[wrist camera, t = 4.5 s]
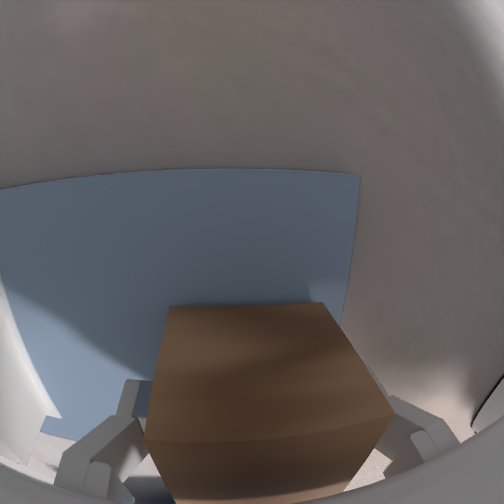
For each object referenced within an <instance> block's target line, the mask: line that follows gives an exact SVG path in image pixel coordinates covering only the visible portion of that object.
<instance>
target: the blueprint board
mask: <svg viewBox="0 0 504 504" xmlns="http://www.w3.org/2000/svg"><path fill="white" fill-rule="evenodd" d="M360 178H361V176H359V175H355V174H350V173H338V172H325V171H309V170H290V169H259V168H201V169H170V170H151V171H136V172H122V173H111V174H101V175H91V176H82V177H74V178H66V179H59V180H52V181H45V182H39V183H32V184H27V185H21V186H15V187H10V188H5V189H0V308H1V311H2V314H3V316H4V319H5V322H6V325H7V327H8V330H9V332H10V335H11V337H12V340H13V342H14V344H15V347H16V349H17V351H18V353H19V355H20V358H21V360H22V362H23V364H24V366H25V368H26V370H27V372H28V374H29V376H30V378H31V380H32V382H33V384H34V385H35V387H36V389H37V391H38V393H39V394H40V396H41V398H42V400H43V401H44V403H45V405H46V406H47V408H48V412H47V415H46V417H45V419H44V422H43V424H42V426H41V429H40V431H39V432H42V433H45V434H49V435H53V436H57V437H60V438H65V439H69V440H73V441H79V440H80V439H81V438H82V437H84V436H85V435H86V434H88V433H89V432H90V431H91V430H93V429H94V428H95V427H97V426H98V425H99V424H100V423H102V422H103V421H104V420H105V419H107V418H108V417H109V416H110V415H115V414H116V411H117V407H118V404H119V400H120V397H121V393H122V390H123V386H124V383H125V381H126V380H127V379H134V380H148V381H153V380H154V375H155V370H156V365H157V360H158V356H159V351H160V346H161V342H162V337H163V333H164V329H165V324H166V320H167V316H168V312H169V308H170V306H249V305H277V304H299V303H316V302H323V303H324V305H325V306H326V308H327V309H328V311H329V312H330V313H331V315H332V316H333V318H334V319H335V321H336V322H337V324H338V325H339V327H340V322H341V317H342V312H343V307H344V301H345V296H346V290H347V285H348V279H349V272H350V266H351V259H352V252H353V245H354V237H355V229H356V221H357V211H358V201H359V190H360Z"/></svg>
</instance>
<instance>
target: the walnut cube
mask: <svg viewBox="0 0 504 504" xmlns="http://www.w3.org/2000/svg"><path fill="white" fill-rule="evenodd" d="M394 414H395V412H394V410H393V409H392V407H391V405H390V404H389V402H388V401H387V399H386V397H385V396H384V394H383V393H382V391H381V390H380V388H379V386H378V385H377V383H376V382H375V380H374V379H373V377H372V376H371V374H370V372H369V371H368V369H367V368H366V366H365V365H364V363H363V362H362V360H361V359H360V357H359V356H358V354H357V352H356V351H355V349H354V348H353V346H352V345H351V343H350V342H349V340H348V339H347V337H346V336H345V334H344V333H343V331H342V330H341V328H340V327H339V325H338V324H337V322H336V321H335V319H334V318H333V316H332V315H331V313H330V312H329V311H328V309H327V308H326V306H325V305H324V303H323V302H316V303H299V304H277V305H249V306H170V308H169V312H168V316H167V320H166V324H165V329H164V333H163V337H162V342H161V346H160V351H159V356H158V360H157V365H156V370H155V375H154V380H153V385H152V391H151V396H150V402H149V407H148V413H147V419H146V425H145V431H144V438H143V440H144V442H145V444H146V447H147V449H148V451H149V453H150V455H151V457H152V459H153V461H154V463H155V465H156V467H157V469H158V471H159V473H160V475H161V477H162V479H163V481H164V483H165V485H166V487H167V488H168V490H169V492H170V494H171V496H172V497H173V499H174V501H175V502H176V504H292V503H298V502H303V501H309V500H313V499H318V498H322V497H327V496H331V495H335V494H339V493H342V491H343V490H344V489H345V488H346V486H347V485H348V484H349V483H350V481H351V480H352V479H353V477H354V476H355V475H356V473H357V472H358V470H359V469H360V468H361V466H362V465H363V463H364V462H365V461H366V459H367V458H368V456H369V455H370V453H371V452H372V450H373V449H374V447H375V446H376V444H377V443H378V441H379V439H380V438H381V436H382V435H383V433H384V431H385V430H386V428H387V426H388V425H389V423H390V421H391V419H392V418H393V416H394Z"/></svg>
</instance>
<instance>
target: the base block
mask: <svg viewBox="0 0 504 504" xmlns="http://www.w3.org/2000/svg"><path fill="white" fill-rule="evenodd" d="M47 412H48V408H47V406H46V405H45V403H44V401H43V400H42V398H41V396H40V394H39V393H38V391H37V389H36V387H35V385H34V384H33V382H32V380H31V378H30V376H29V374H28V372H27V370H26V368H25V366H24V364H23V362H22V360H21V358H20V355H19V353H18V351H17V349H16V347H15V344H14V342H13V340H12V337H11V335H10V332H9V330H8V327H7V325H6V322H5V319H4V316H3V314H2V311H1V308H0V455H1V456H3V457H5V458H8V459H10V460H12V461H14V462H17V463H19V464H22V465H24V466H26V465H27V462H28V460H29V457H30V454H31V451H32V449H33V446H34V444H35V441H36V439H37V436H38V434H39V431H40V429H41V426H42V424H43V422H44V419H45V417H46V415H47Z"/></svg>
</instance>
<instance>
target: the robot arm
mask: <svg viewBox="0 0 504 504" xmlns="http://www.w3.org/2000/svg"><path fill="white" fill-rule="evenodd" d="M366 368H367V369H368V371H369V372H370V374H371V376H372V377H373V379H374V380H375V382H376V383H377V385H378V386H379V388H380V390H381V391H382V393H383V394H384V396H385V397H386V399H387V401H388V402H389V404H390V405H391V407H392V409H393V410H394V412H395V414H394V416H393V418H392V419H391V421H390V423H389V425H388V426H387V428H386V430H385V431H384V433H383V435H382V436H381V438H380V439H379V441H378V443H377V444H376V446H375V447H374V448H375V449H377V450H378V451H379V452H381V453H382V454H384V455H385V456H386V457H388V458H389V459H391V460H392V461H391V462H390V464H389V465H388V466H387V467H386V469H385V470H384V472H383V474H384V476H385V478H386V479H383V480H380V481H378V482H375V483H372V484H369V485H366V486H363V487H360V488H356V489H353V490H350V491H346V492H342V493H339V494H335V495H331V496H327V497H322V498H318V499H313V500H309V501H303V502H298V503H292V504H504V378H503V379H502V381H501V382H500V383H499V385H498V386H497V387H496V389H495V390H494V391H493V393H492V394H491V396H490V397H489V398H488V400H487V401H486V403H485V404H484V406H483V407H482V409H481V410H480V412H479V413H478V415H477V417H476V418H475V420H474V422H473V425H472V429H473V430H474V431H476V434H475V435H473V436H472V437H470V438H468V439H467V440H465V441H463V442H462V443H460V442H459V441H458V439H457V438H456V436H455V435H454V433H453V432H452V431H451V429H450V428H449V426H448V425H447V424H446V422H445V421H444V419H441V418H439V417H437V416H435V415H433V414H431V413H428V412H426V411H424V410H422V409H420V408H418V407H416V406H414V405H412V404H410V403H408V402H406V401H404V400H402V399H400V398H398V397H396V396H394V395H390V396H389V395H388V393H387V392H386V390H385V389H384V387H383V386H382V384H381V383H380V381H379V380H378V378H377V377H376V375H375V374H374V372H373V371H372V370H371V368H370V367H368V366H366ZM152 385H153V381H148V380H134V379H127V380H126V381H125V383H124V386H123V390H122V393H121V397H120V400H119V404H118V407H117V411H116V414H115V415H110V416H109V417H108V418H107V419H105V420H104V421H103V422H102V423H100V424H99V425H98V426H97V427H95V428H94V429H93V430H91V431H90V432H89V433H88V434H86V435H85V436H84V437H82V438H81V439H80V440H79V441H77V442H76V443H75V444H73V445H72V446H71V447H70V448H68V449H67V450H66V451H64V452H63V454H62V458H61V461H60V464H59V467H58V470H57V474H56V477H55V481H54V484H53V485H52V484H49V483H47V482H44V481H41V480H39V479H36V478H33V477H31V476H29V475H26V474H24V473H21V472H19V471H17V470H15V469H13V468H10V467H8V466H6V465H4V464H2V463H0V504H134V502H135V498H134V497H133V495H132V494H131V493H130V492H129V490H128V489H127V488H126V487H125V486H124V484H123V482H124V481H125V480H126V479H127V478H128V477H129V476H130V474H131V473H132V472H133V471H134V470H135V469H136V467H137V466H138V465H139V464H140V463H141V462H142V460H143V459H144V458H145V457H146V456H147V454H148V453H149V451H148V449H147V447H146V444H145V442H144V440H143V438H144V431H145V425H146V419H147V413H148V407H149V402H150V396H151V391H152Z"/></svg>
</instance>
